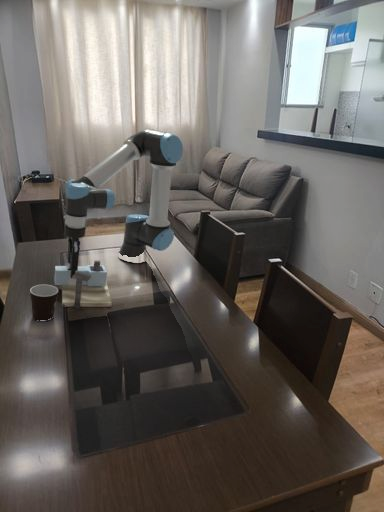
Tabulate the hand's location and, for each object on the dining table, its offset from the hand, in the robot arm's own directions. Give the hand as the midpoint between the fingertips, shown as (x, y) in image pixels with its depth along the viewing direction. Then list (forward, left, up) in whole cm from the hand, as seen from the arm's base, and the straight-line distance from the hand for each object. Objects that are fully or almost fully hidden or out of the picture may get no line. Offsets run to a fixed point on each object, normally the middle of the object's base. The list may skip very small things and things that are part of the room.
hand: (70, 281), depth 142 cm
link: (0, +3, 0) cm, 4 cm away
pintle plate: (+5, +6, -3) cm, 8 cm away
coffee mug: (+20, -8, -3) cm, 22 cm away
